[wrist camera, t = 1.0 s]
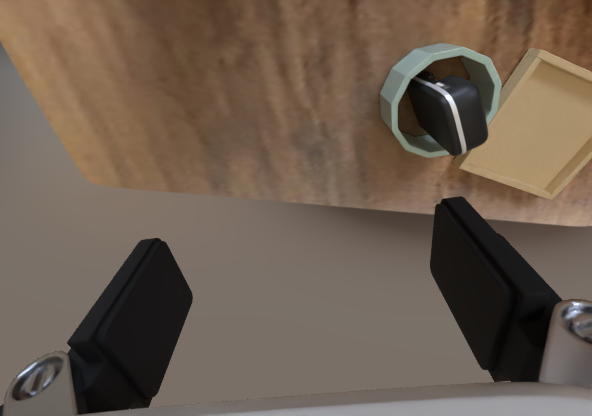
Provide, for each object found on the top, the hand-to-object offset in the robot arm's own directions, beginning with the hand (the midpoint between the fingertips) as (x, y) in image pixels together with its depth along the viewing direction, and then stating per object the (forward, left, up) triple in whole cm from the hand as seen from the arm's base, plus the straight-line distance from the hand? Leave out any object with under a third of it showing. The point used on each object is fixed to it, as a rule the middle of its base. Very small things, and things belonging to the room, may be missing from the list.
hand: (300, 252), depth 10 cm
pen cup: (-4, +15, -31) cm, 35 cm away
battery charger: (-4, +15, -31) cm, 35 cm away
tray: (-5, +31, -31) cm, 44 cm away
